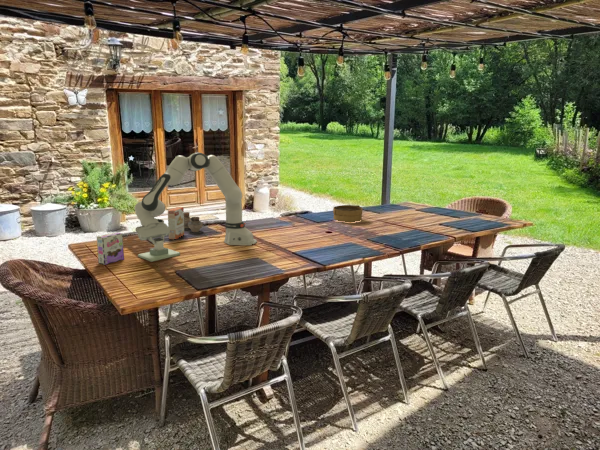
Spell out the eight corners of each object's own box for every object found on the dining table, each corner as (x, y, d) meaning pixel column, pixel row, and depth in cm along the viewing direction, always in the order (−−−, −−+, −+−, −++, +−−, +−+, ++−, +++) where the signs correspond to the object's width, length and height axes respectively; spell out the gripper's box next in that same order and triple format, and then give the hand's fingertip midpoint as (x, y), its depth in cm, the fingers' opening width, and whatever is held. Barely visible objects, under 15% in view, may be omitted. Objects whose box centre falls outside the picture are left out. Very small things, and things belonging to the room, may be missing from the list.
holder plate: (166, 250, 302) (166, 243, 301) (180, 254, 292) (179, 247, 291) (138, 256, 287) (137, 249, 286) (151, 261, 278) (151, 254, 277)
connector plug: (160, 251, 292) (159, 237, 290) (163, 252, 290) (163, 238, 288) (154, 252, 289) (153, 238, 287) (158, 254, 287) (157, 239, 285)
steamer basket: (331, 222, 389) (331, 209, 387) (334, 217, 413) (334, 204, 411) (361, 224, 385) (362, 211, 383) (362, 218, 409) (363, 206, 407)
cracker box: (176, 239, 328) (175, 210, 323) (168, 239, 329) (166, 210, 324) (185, 235, 341) (183, 207, 337) (177, 234, 343) (176, 206, 338)
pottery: (190, 225, 372) (189, 211, 369) (206, 231, 353) (205, 216, 351) (177, 227, 365) (176, 212, 362) (192, 233, 346) (191, 218, 344)
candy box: (104, 265, 270) (102, 237, 267) (98, 263, 273) (95, 236, 270) (124, 259, 282) (122, 232, 278) (118, 257, 285) (116, 231, 281)
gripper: (136, 224, 282) (145, 242, 278) (165, 219, 297) (175, 236, 293) (132, 230, 286) (142, 248, 282) (162, 225, 301) (171, 242, 297)
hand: (159, 242), depth 288 cm, fingers open, 5 cm apart
